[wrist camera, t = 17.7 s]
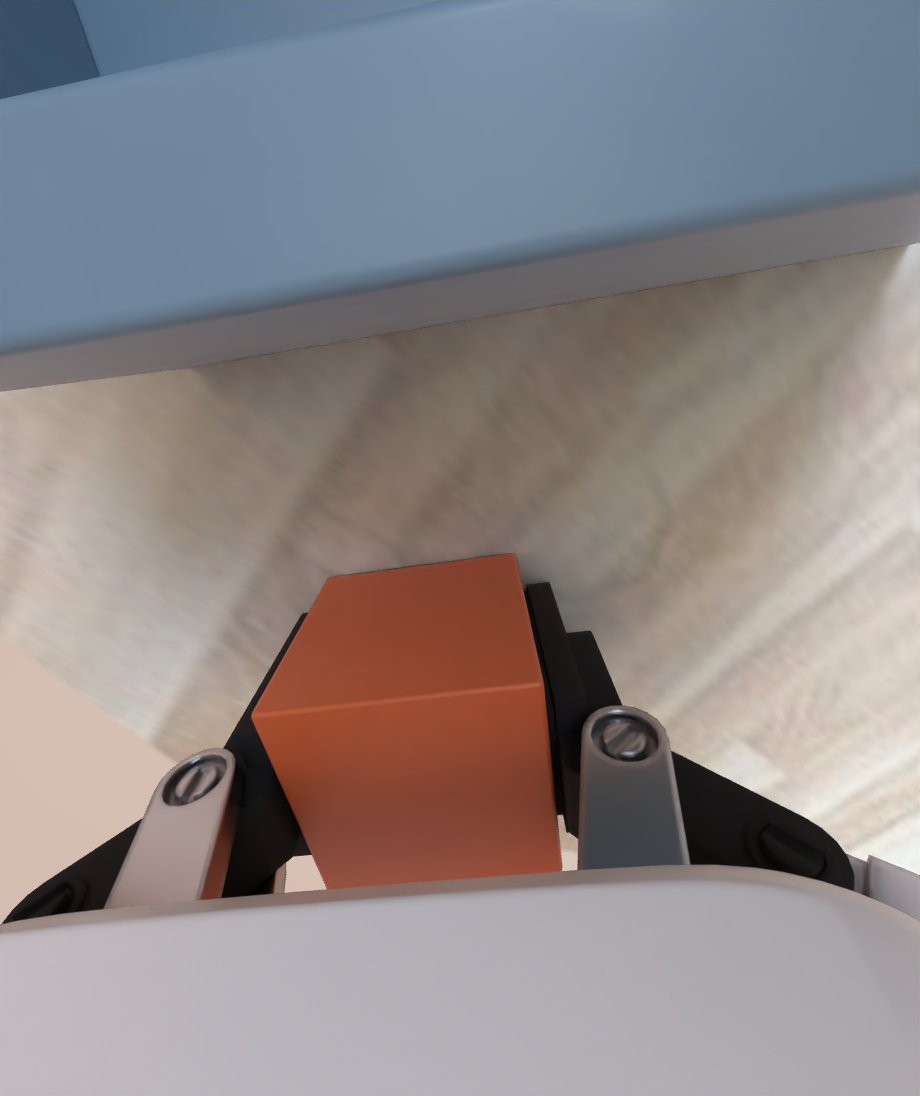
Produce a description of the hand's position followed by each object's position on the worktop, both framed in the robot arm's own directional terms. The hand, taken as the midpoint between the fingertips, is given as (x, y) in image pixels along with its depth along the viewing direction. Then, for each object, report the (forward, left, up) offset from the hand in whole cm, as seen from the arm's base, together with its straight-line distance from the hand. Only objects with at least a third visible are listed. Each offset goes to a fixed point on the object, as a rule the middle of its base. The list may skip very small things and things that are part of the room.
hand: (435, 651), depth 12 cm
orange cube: (0, 0, 0) cm, 0 cm away
